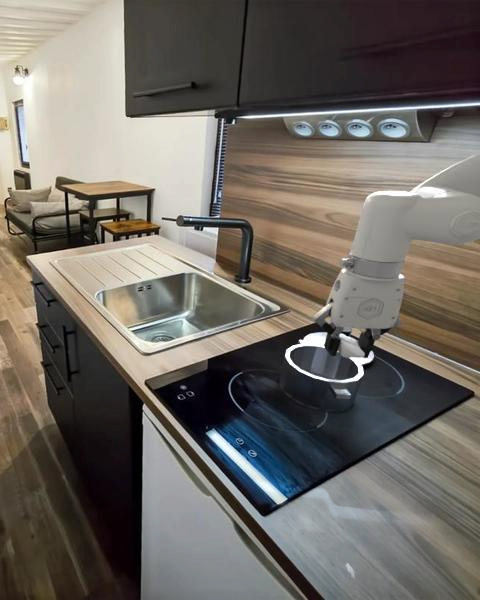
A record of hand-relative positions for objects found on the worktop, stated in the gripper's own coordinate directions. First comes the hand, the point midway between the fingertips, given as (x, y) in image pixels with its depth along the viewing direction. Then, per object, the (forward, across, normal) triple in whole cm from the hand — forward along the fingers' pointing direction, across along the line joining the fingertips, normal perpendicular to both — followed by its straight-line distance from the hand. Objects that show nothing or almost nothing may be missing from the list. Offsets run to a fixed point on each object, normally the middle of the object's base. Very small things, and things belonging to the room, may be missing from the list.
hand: (345, 352), depth 71 cm
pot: (+11, -2, +2) cm, 12 cm away
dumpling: (+1, 0, 0) cm, 1 cm away
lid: (+11, +9, +18) cm, 23 cm away
